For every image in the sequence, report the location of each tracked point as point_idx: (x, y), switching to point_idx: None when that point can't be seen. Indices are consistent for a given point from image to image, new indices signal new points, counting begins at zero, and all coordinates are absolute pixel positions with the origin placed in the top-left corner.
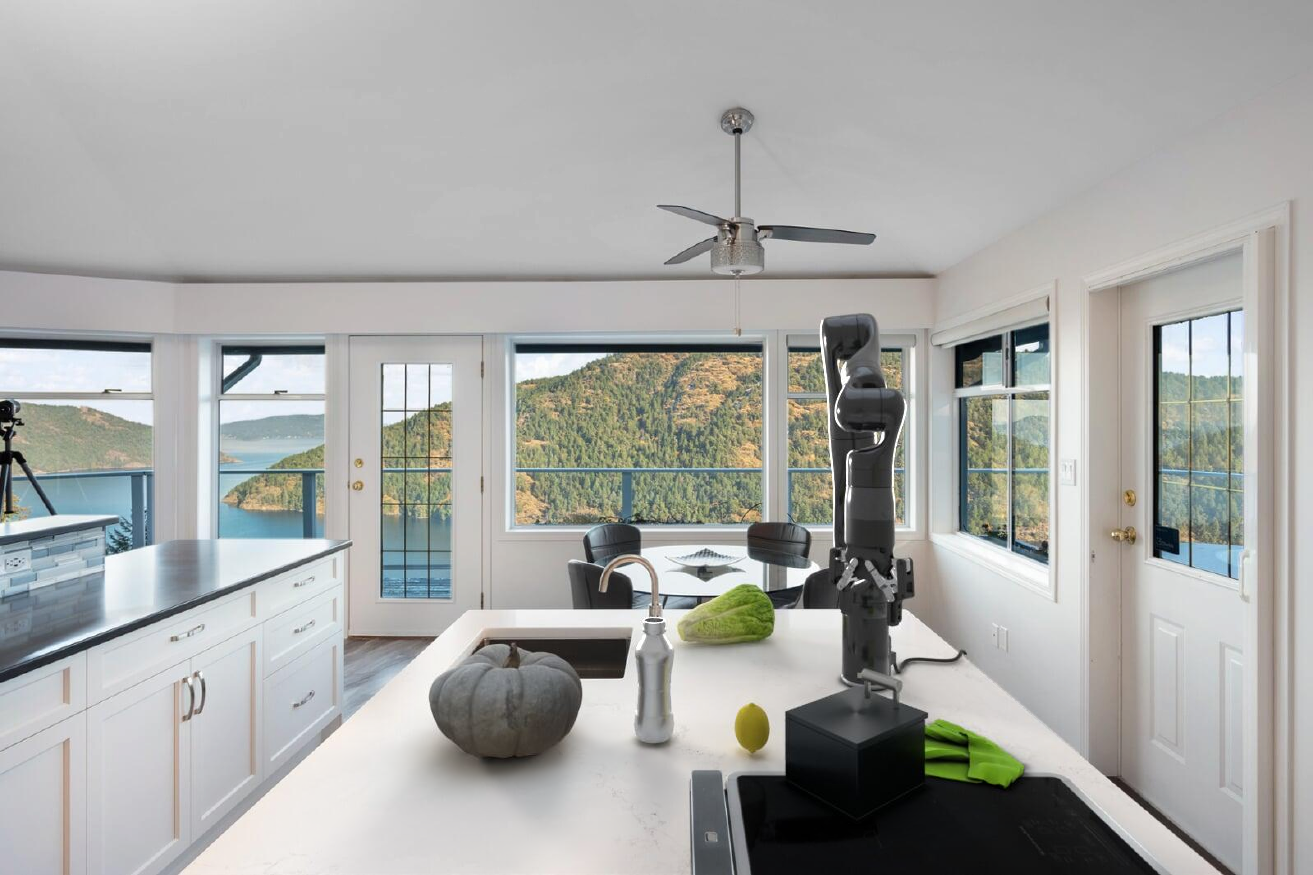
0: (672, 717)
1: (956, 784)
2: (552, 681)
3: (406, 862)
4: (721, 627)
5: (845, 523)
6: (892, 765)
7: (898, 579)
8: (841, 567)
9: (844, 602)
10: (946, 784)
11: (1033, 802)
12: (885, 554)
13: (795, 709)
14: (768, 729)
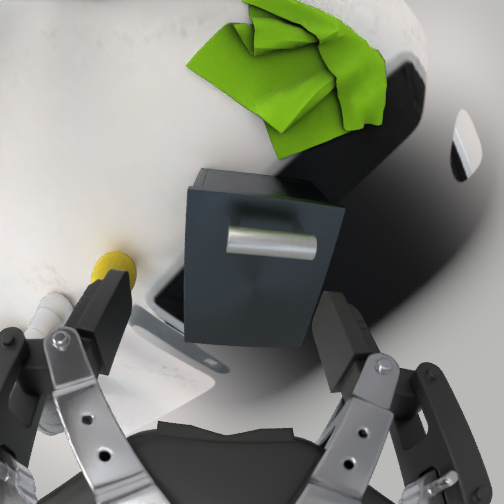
0: (60, 312)
1: (335, 147)
2: (54, 413)
3: (141, 426)
4: None
5: None
6: None
7: (405, 466)
8: (7, 417)
9: (119, 341)
10: (327, 155)
11: (404, 133)
12: None
13: (188, 331)
14: (130, 271)
